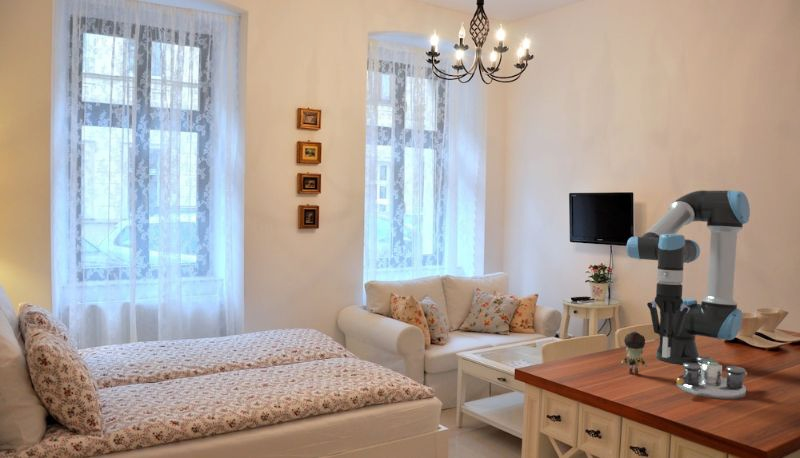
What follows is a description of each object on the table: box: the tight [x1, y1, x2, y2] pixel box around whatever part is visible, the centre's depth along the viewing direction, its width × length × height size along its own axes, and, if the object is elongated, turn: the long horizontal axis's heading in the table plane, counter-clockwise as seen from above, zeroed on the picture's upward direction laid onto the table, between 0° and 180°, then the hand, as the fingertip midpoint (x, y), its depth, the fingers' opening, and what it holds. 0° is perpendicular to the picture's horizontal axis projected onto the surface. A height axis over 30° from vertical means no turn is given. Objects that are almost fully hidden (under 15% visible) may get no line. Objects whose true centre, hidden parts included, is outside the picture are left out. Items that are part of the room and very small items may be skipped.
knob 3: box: [725, 365, 748, 389], centre depth 201 cm, size 13×5×6 cm, turn 137°
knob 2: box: [696, 355, 719, 377], centre depth 213 cm, size 13×5×6 cm, turn 136°
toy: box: [620, 331, 648, 375], centre depth 219 cm, size 9×7×15 cm
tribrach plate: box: [676, 361, 747, 400], centre depth 203 cm, size 20×20×9 cm
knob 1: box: [676, 362, 701, 386], centre depth 199 cm, size 13×5×6 cm, turn 136°
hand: (665, 356), depth 200 cm, fingers closed
